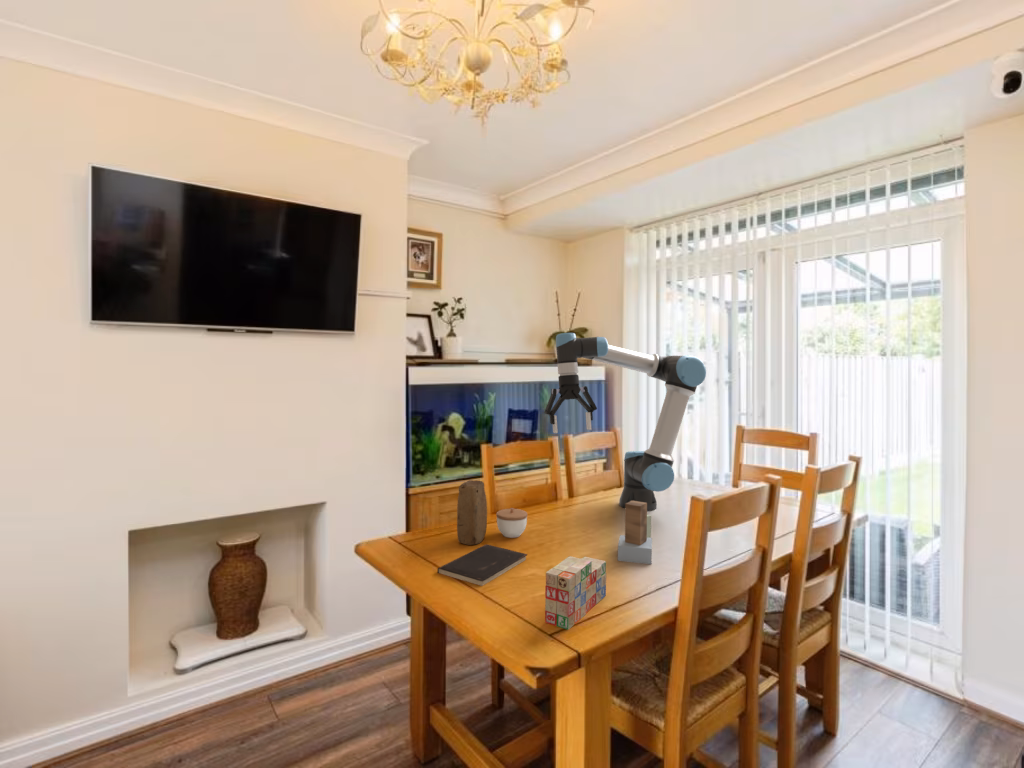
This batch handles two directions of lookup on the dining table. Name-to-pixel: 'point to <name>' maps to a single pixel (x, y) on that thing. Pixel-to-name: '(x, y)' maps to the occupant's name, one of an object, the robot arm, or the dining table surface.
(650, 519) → the sage block
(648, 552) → the slate base block
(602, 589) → the stack of blocks
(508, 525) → the lidded jar
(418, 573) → the dining table surface
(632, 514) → the walnut block
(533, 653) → the dining table surface
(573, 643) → the dining table surface
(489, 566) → the hardcover book
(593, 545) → the dining table surface
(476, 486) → the block
